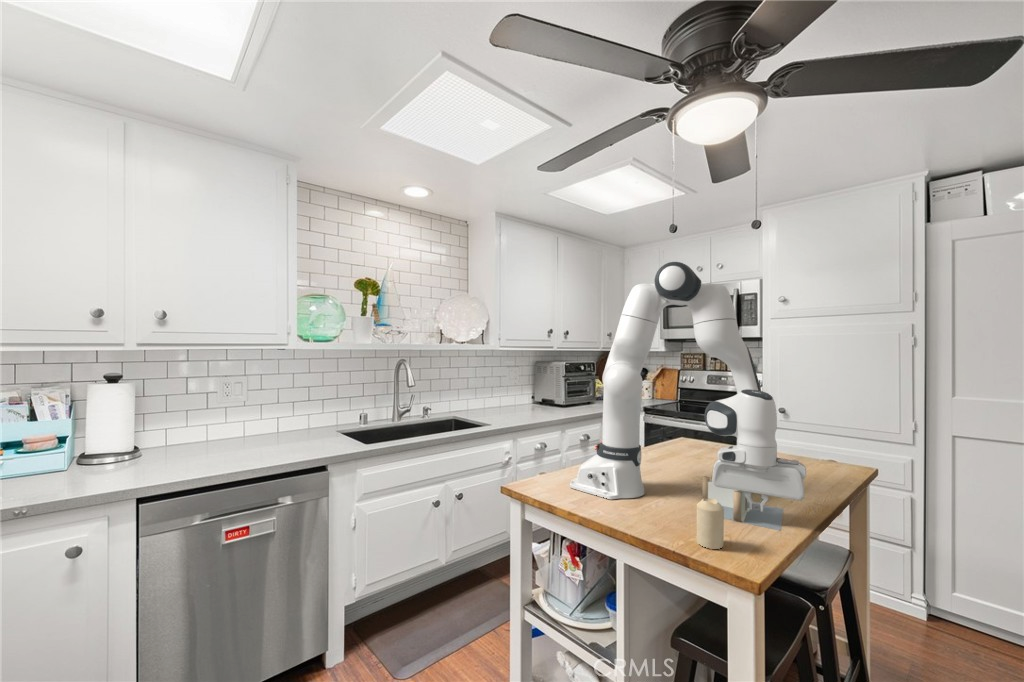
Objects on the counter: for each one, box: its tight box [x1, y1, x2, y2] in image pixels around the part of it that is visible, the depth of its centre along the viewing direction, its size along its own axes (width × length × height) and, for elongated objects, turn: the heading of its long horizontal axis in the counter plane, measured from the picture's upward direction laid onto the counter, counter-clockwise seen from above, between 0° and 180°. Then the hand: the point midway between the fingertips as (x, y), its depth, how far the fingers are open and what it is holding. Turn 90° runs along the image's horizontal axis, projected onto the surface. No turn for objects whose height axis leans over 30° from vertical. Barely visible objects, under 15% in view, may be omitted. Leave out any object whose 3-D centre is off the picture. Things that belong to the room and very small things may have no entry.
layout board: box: [722, 501, 784, 532], centre depth 118 cm, size 19×17×1 cm
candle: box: [696, 498, 725, 550], centre depth 99 cm, size 6×6×10 cm
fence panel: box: [733, 490, 745, 522], centre depth 114 cm, size 9×2×7 cm, turn 144°
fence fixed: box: [701, 475, 748, 510], centre depth 122 cm, size 11×2×7 cm, turn 57°
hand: (756, 510), depth 111 cm, fingers closed
